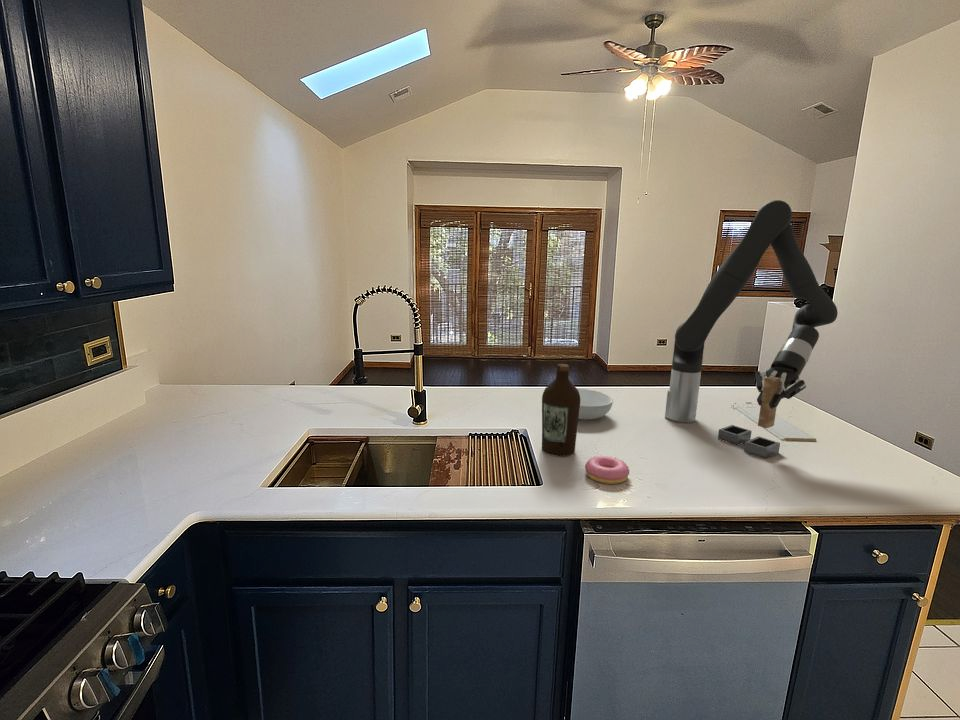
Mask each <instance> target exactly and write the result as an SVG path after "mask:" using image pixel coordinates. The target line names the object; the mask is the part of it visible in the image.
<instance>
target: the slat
mask: <svg viewBox="0 0 960 720" xmlns="http://www.w3.org/2000/svg"><path fill="white" fill-rule="evenodd" d="M780 381H781V378H778V377H773V376H771V377H767V376H766V377H765V379H764V380H763V393H762V401H761V407H760V414H759V421H758V424H757V426H758V427H761V428H763V427H764V428H769V427H772V426H774V421H775V414H777V408H778V406H777V407H776V408H775V407H774V409H771V408H770V407H769V403H770V401H771V400H772V398H773V396H774V395H775V394H776V392H777V389H778V385H779V383H780ZM764 428H763V429H764Z"/></svg>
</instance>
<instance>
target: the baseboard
mask: <svg viewBox="0 0 960 720" xmlns="http://www.w3.org/2000/svg"><path fill="white" fill-rule="evenodd" d="M734 404H735V405H737V403H736V402H735V403H734ZM734 404H733V405H730V406H731V407H730V408H732V409H735V410H737V411H738V412H739V413H741V414H742V415H743V414H744V416H745V417H746V416H747V417H746V418H748V419H749V420H751V421H752V422H754V423H755V424H756V425H758V421H759V414H760V407H761V406H760V405H758V406H756V405H755V406H754V405H753V404H752V402H751V401H750V402H749V401H748V402H747V405H746V406H745V405H737V406H736V407H735V406H734ZM749 405H751V406H749ZM762 429H764V430H766V431H767V432H768V433H770V434H771V435H773V436H774V437H776V438H777V439H779V440H781V441H792V442H793V441H798V442H802V441H803V442H817V438H816V437H815V436H813V435H811V434H809V433H808V432H807V431H805V430H803V429H802V428H800V427H798V426H796V425H795V424H793V423H792V422H790V421H788V420H787V419H785V418H784V417H781V416H780V415H778V414H777V413H776V414H775V421H774V426H772V427H769V428H764V427H762Z"/></svg>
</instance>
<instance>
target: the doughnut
mask: <svg viewBox="0 0 960 720" xmlns="http://www.w3.org/2000/svg"><path fill="white" fill-rule="evenodd" d="M584 469H585V473H586V475H587V476H588V477H589V478H590V479H591V480H593V481H595V482H597V483H600V484H606V485H616V484H620V483H621V484H622V483H623V482H625V481H626V480H627V479H628V477H629V475H630V469H629V466H628V465H627V463H626V462H624V460H621V459H619V458H617V457H613V456H609V455H598V456H593V457H591V458H589V459H588V460H587V461H586V463H585V466H584Z"/></svg>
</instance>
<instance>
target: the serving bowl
mask: <svg viewBox="0 0 960 720" xmlns="http://www.w3.org/2000/svg"><path fill="white" fill-rule="evenodd" d="M576 388H577V387H576ZM577 390H578V391H579V394H580V409H579V417H578V420H585V421H586V420H594V419H600V418H602V417H604V416H605V415H607V414H608V413H609V412H610V411H611V409H612V406H613V403H614V399H613V397H611V396H610V395H608V394H607V393H604V392H602V391H597V390H595V389H593V390H592V389H589V388H588V389H586V388H577Z"/></svg>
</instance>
